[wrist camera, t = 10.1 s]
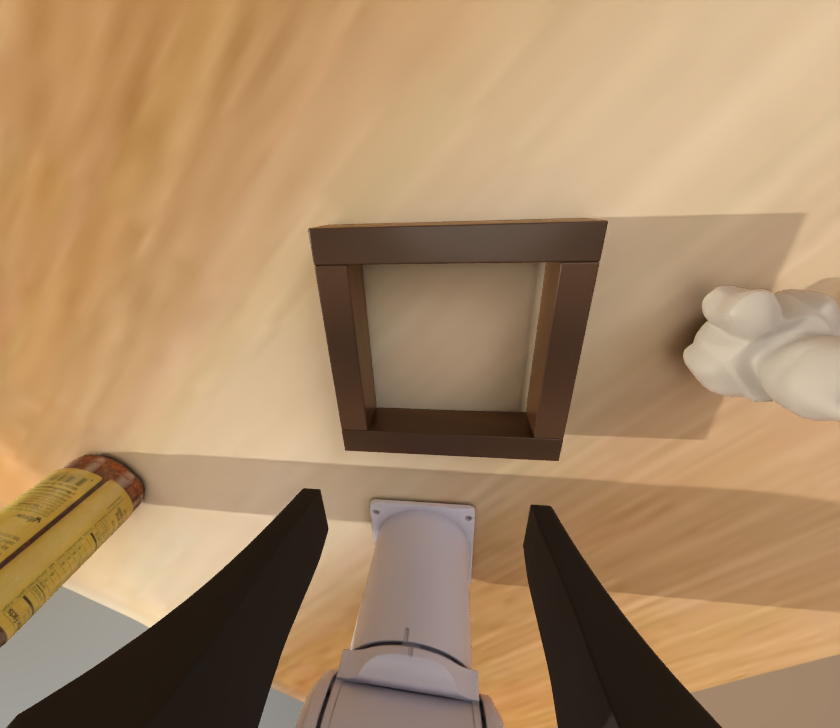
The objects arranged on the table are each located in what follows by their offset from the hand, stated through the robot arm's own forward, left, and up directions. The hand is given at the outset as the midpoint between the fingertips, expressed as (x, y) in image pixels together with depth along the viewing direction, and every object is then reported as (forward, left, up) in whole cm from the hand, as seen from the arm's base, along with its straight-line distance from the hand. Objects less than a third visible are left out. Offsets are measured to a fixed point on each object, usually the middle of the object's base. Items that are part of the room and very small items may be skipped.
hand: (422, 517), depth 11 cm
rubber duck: (+4, -15, -10) cm, 18 cm away
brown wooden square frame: (+3, -1, -10) cm, 10 cm away
